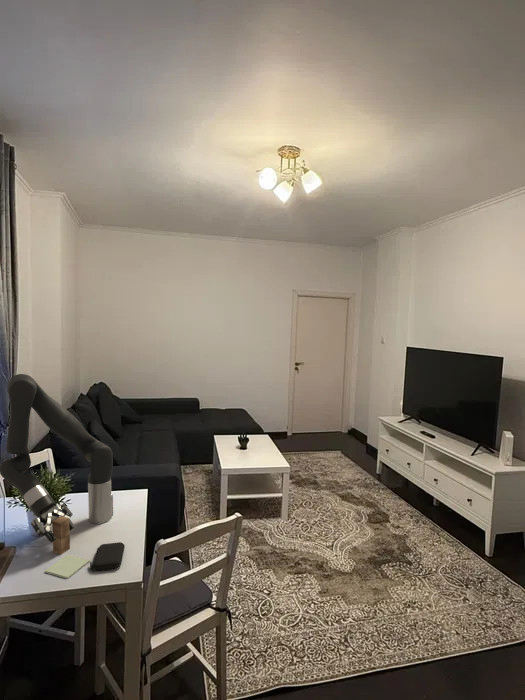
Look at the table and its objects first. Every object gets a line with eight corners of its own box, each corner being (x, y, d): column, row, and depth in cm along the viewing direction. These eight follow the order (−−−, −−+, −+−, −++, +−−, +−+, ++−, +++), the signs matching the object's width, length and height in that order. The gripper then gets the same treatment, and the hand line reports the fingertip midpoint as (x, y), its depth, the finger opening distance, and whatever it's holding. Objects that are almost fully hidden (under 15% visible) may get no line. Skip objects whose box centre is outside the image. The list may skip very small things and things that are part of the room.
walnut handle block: (61, 546, 152) (60, 516, 151) (70, 548, 151) (69, 518, 150) (53, 552, 148) (52, 521, 147) (61, 554, 147) (60, 523, 146)
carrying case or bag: (95, 550, 150) (87, 575, 136) (95, 542, 150) (87, 566, 136) (125, 547, 153) (120, 571, 138) (125, 539, 152) (120, 562, 138)
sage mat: (67, 556, 146) (67, 554, 146) (89, 561, 143) (89, 560, 143) (44, 572, 137) (44, 570, 137) (67, 578, 133) (67, 577, 133)
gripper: (27, 502, 144) (53, 539, 141) (59, 487, 157) (83, 520, 154) (17, 514, 146) (42, 550, 143) (49, 498, 159) (72, 530, 156)
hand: (63, 534), depth 149 cm, fingers open, 8 cm apart
